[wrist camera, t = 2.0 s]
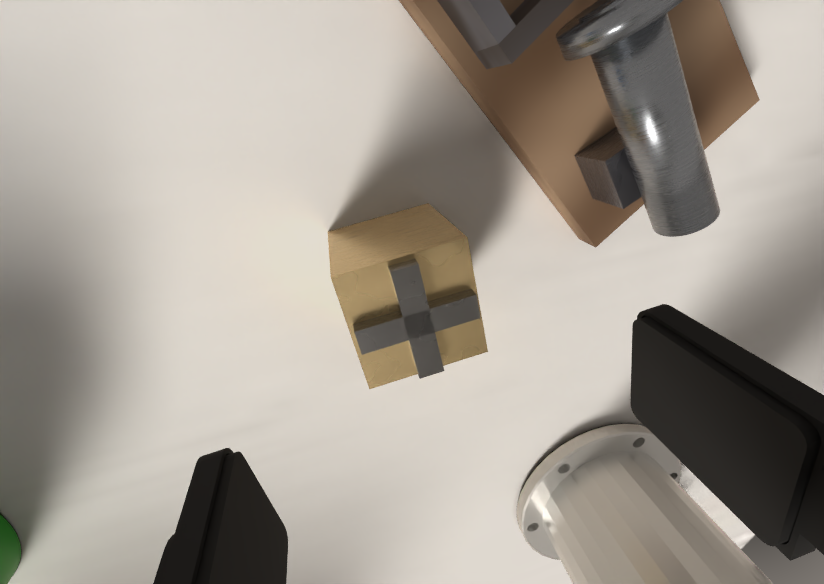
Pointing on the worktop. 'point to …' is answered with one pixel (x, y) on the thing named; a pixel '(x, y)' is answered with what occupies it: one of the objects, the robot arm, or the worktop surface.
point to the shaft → (643, 116)
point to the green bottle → (8, 551)
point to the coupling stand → (573, 87)
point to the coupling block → (407, 293)
